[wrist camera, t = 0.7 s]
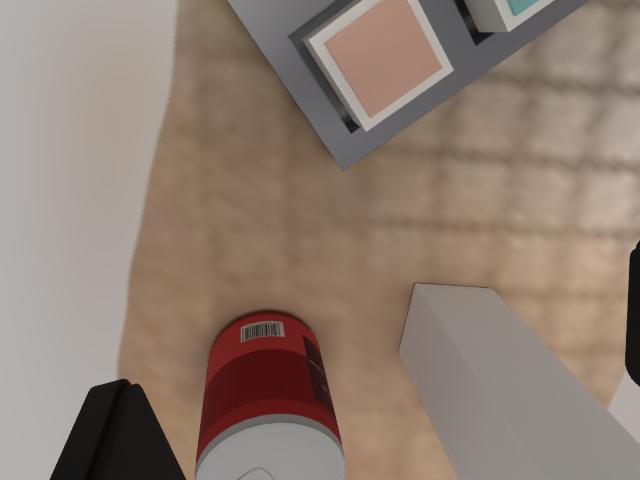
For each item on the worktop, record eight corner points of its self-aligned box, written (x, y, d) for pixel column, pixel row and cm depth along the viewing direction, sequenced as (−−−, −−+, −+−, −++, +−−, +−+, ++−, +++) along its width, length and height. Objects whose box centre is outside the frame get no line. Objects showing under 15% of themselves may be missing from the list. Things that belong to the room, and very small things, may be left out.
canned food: (186, 360, 35) (161, 494, 25) (264, 286, 33) (271, 395, 23) (264, 414, 38) (271, 553, 27) (340, 348, 36) (376, 469, 26)
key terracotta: (384, -23, 24) (404, -31, 21) (430, 66, 26) (456, 70, 23) (301, 39, 25) (309, 39, 22) (353, 121, 27) (367, 133, 24)
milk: (490, 286, 36) (808, 610, 16) (470, 356, 38) (724, 716, 18) (412, 282, 35) (645, 623, 15) (395, 353, 37) (578, 735, 17)
